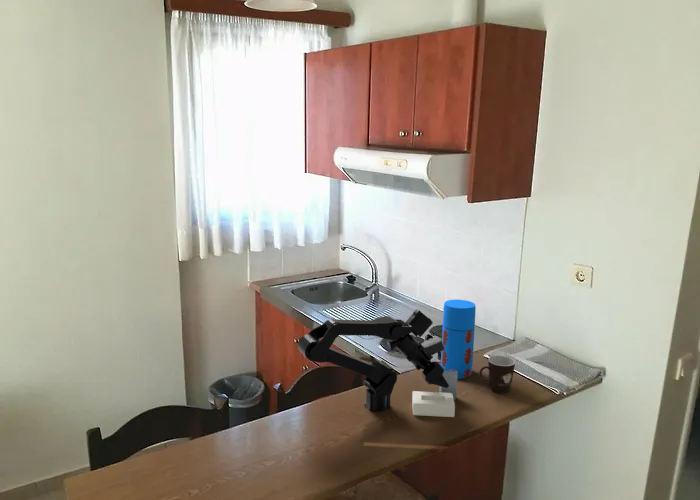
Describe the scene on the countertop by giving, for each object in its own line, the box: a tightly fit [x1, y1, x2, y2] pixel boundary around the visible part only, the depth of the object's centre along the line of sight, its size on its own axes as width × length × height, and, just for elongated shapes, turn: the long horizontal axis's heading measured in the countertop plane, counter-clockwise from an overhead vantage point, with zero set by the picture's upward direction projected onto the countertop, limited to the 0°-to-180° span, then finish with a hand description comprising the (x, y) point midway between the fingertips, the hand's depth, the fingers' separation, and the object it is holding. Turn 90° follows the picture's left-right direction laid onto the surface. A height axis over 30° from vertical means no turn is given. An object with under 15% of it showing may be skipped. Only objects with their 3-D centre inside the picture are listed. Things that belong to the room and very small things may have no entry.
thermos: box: [440, 299, 476, 379], centre depth 195 cm, size 11×11×25 cm
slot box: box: [411, 390, 456, 418], centre depth 168 cm, size 12×8×4 cm, turn 86°
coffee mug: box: [479, 355, 516, 395], centre depth 183 cm, size 12×9×10 cm
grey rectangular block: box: [438, 369, 458, 400], centre depth 175 cm, size 5×2×10 cm, turn 102°
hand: (442, 380), depth 174 cm, fingers open, 9 cm apart
